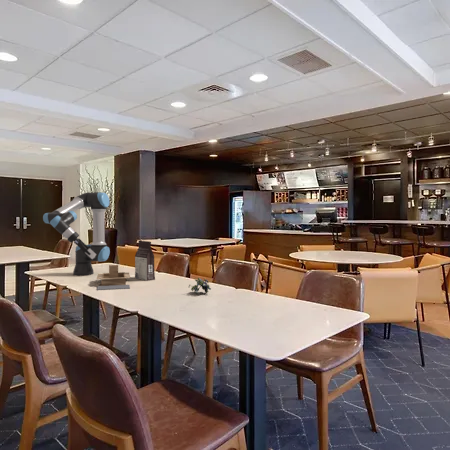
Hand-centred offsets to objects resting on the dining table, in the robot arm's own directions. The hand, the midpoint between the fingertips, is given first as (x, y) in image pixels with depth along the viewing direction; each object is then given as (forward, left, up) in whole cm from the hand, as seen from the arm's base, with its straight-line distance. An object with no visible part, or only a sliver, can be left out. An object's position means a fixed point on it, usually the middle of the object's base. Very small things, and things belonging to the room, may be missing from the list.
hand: (94, 257), depth 254 cm
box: (-1, +12, -18) cm, 22 cm away
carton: (-1, +12, -18) cm, 22 cm away
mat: (+18, +12, -18) cm, 29 cm away
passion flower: (+50, +62, -19) cm, 82 cm away
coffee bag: (-11, +34, -18) cm, 41 cm away
